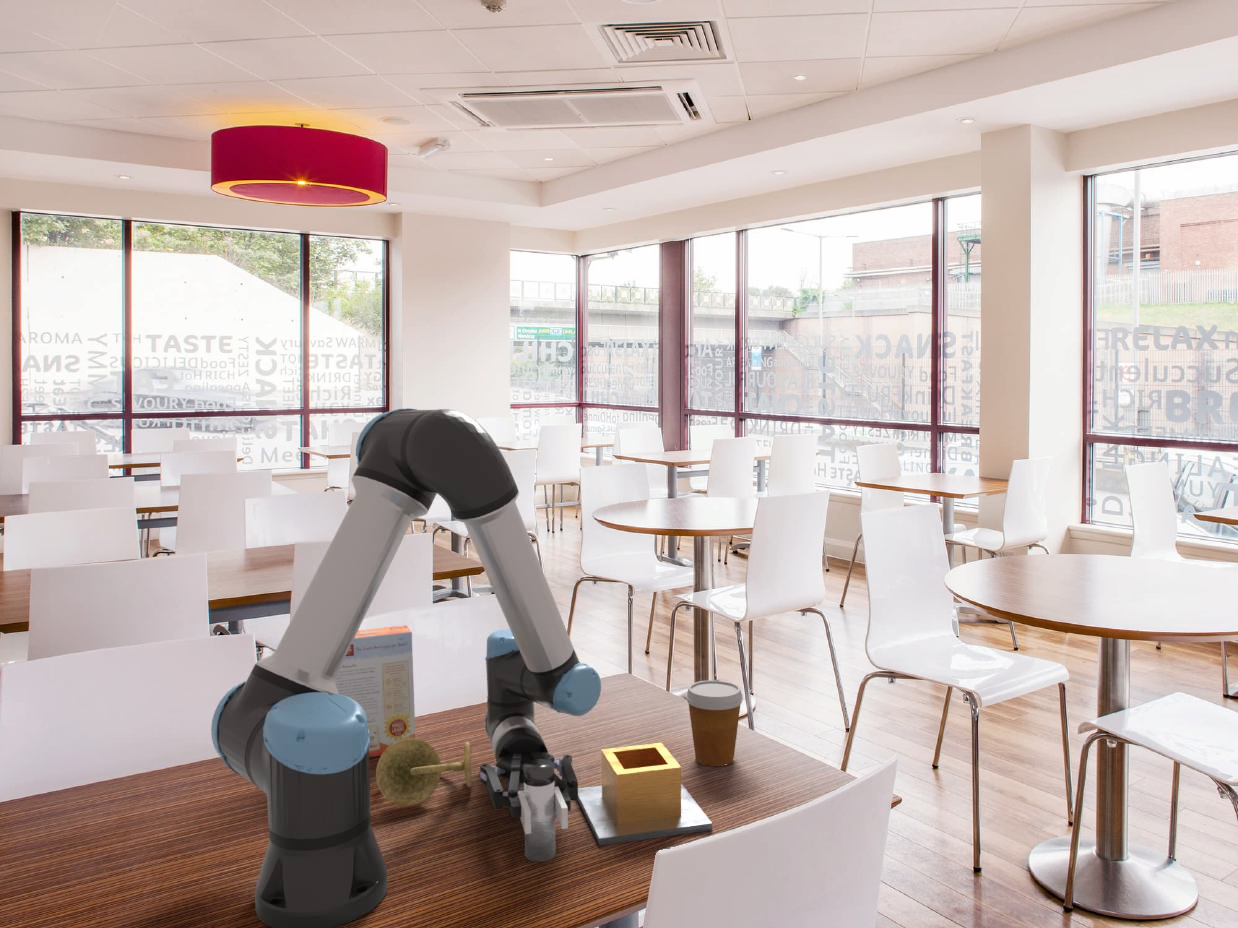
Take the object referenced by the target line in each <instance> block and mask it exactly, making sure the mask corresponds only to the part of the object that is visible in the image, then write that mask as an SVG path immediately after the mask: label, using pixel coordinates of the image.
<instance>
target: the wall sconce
mask: <svg viewBox="0 0 1238 928" xmlns="http://www.w3.org/2000/svg"><path fill="white" fill-rule="evenodd" d="M463 747H464V748H463V761H456V762H452V763H443V764H442V762H441V759H440V757H439V754H438V752H437V751H436V749H435V748H434V747H433V745H431V744H430V743H428V742H426V741H425V740H422V739H419V738H416V739H415V738H407V739H402V740H399V741H397V742H395V743H393V744H392V745H390V746H389V747H388V748H387V749H386V750H385V751H384V752H383V754H382V755H381V756H379V760H378V761H377V765H376V770H375V780H376V785H377V787H378V790H379V791H380V793H381V794H382V796H384V798H385V799H386V800H388V801H389V802H392V803H393V804H396V805H399V806H404V807H405V806H414V805H417V804H420V803H422V802H424V801H425V800H427V799H428V798H429V797H430V796H432V794H433V793H434V792H435V791H436V789H437V787H438V786H439V783H440V781H441V776H442V773H443V772H451V771H452V772H461V771H464V779H465V783H466V786H467V787H468V788H472V787H473V786H472V785H473V784H472V781H473V780H472V762H471V760H472V759H471V750H470V749H471V748H470V742H469V741H467V742H465V744H464V746H463Z"/></svg>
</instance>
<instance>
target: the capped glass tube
mask: <svg viewBox="0 0 1238 928" xmlns="http://www.w3.org/2000/svg"><path fill="white" fill-rule="evenodd" d="M523 769H524V784H523V791H524V795H525V797H526V800H527V802H528V805H529V808H530V811H531V833H530V834H525V833H524V856H525V858H526V859H527V860H529V861H530V862H535V863H536V862H537V863H540V862H546V861H550V860H551V859H553V858H555V856H556V853H557V851H556V813H555V785H554V773H555V768H554V763H553V762H552V761H550V760H546V759H535V760H530V761H528V762H526V763H525V764H524V766H523Z"/></svg>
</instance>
